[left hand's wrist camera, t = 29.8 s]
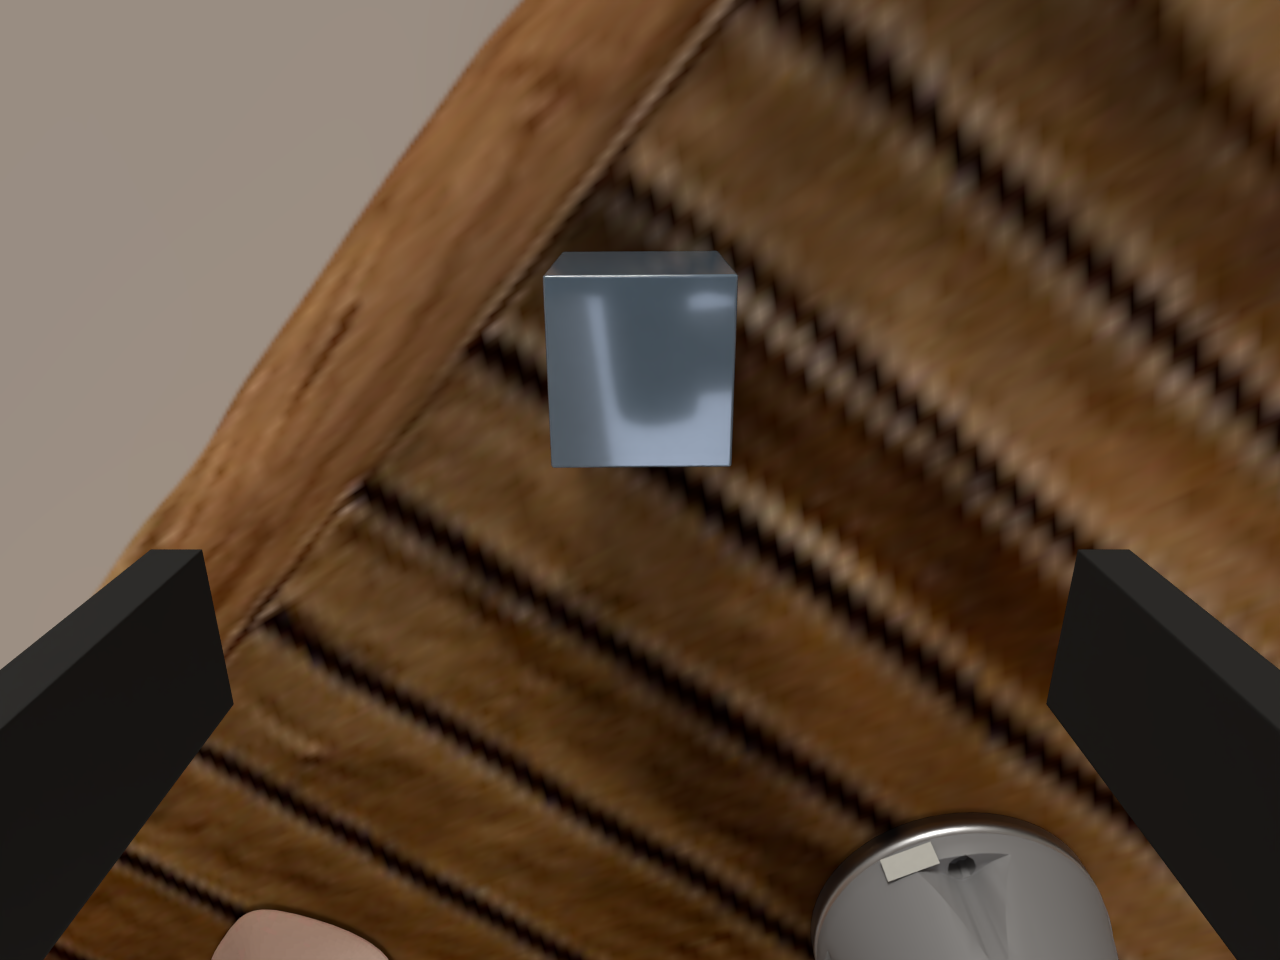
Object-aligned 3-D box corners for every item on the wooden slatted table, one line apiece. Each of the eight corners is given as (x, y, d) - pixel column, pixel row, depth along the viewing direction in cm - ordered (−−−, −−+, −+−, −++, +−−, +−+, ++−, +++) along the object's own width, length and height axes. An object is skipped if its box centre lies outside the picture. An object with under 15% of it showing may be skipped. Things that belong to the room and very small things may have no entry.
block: (718, 250, 33) (738, 274, 27) (714, 408, 36) (731, 467, 29) (561, 251, 33) (542, 275, 27) (568, 409, 36) (551, 468, 29)
